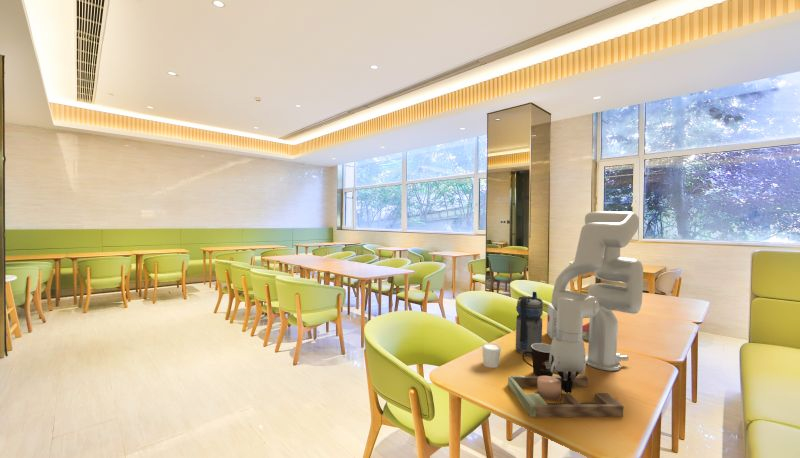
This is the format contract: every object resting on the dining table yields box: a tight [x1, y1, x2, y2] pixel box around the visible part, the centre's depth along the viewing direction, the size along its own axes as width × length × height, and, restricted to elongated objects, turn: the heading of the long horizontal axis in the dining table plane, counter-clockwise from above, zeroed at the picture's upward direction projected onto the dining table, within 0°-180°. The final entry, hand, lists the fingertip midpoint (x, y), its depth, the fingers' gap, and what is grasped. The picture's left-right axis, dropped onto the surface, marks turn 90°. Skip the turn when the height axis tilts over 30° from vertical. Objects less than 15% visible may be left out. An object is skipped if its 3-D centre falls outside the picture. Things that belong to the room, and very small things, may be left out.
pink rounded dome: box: [536, 376, 562, 401], centre depth 111 cm, size 7×7×4 cm
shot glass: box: [481, 343, 502, 369], centre depth 132 cm, size 7×7×7 cm
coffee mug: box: [521, 343, 554, 376], centre depth 124 cm, size 12×9×10 cm
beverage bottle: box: [515, 291, 544, 357], centre depth 143 cm, size 10×13×25 cm
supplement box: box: [546, 303, 557, 341], centre depth 163 cm, size 9×9×15 cm
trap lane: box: [507, 374, 625, 418], centre depth 108 cm, size 27×18×3 cm
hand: (566, 390), depth 111 cm, fingers closed
